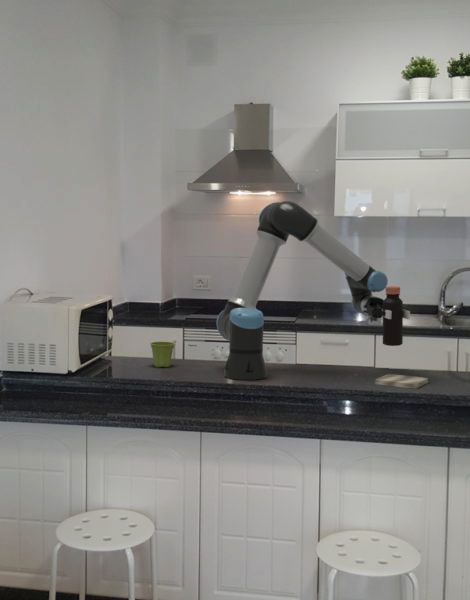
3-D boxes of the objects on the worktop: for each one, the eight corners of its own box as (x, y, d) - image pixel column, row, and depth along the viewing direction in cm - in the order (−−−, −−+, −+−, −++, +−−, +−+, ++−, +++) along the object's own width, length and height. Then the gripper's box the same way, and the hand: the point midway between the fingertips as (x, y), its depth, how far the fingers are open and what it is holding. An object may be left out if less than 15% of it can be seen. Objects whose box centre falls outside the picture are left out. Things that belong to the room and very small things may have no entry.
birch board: (374, 384, 237) (374, 379, 237) (388, 378, 249) (388, 373, 249) (416, 388, 230) (416, 384, 230) (428, 382, 242) (428, 378, 242)
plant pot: (179, 365, 267) (180, 343, 266) (164, 369, 259) (164, 345, 258) (160, 363, 272) (160, 340, 271) (144, 366, 264) (144, 343, 263)
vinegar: (381, 345, 245) (381, 288, 242) (384, 341, 251) (384, 285, 248) (401, 346, 243) (401, 288, 240) (403, 342, 249) (403, 286, 246)
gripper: (397, 317, 265) (425, 326, 243) (349, 316, 262) (372, 325, 239) (398, 297, 265) (426, 304, 242) (350, 296, 261) (373, 303, 239)
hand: (399, 315), depth 241 cm, fingers closed on vinegar, 6 cm apart
